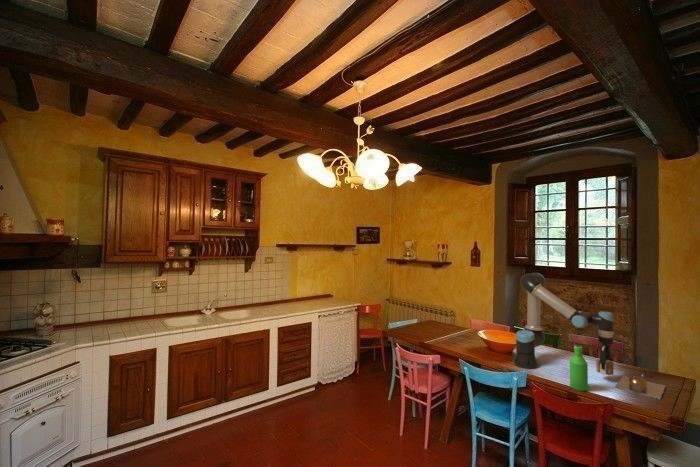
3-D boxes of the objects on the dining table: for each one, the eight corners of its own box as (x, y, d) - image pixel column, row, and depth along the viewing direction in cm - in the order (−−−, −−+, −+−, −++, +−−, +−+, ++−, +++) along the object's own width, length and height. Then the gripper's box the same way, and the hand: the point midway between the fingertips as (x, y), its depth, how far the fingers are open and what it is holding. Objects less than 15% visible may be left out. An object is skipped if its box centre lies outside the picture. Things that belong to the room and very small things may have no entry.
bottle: (580, 385, 202) (580, 344, 203) (591, 391, 194) (591, 348, 194) (566, 385, 202) (566, 344, 203) (576, 391, 193) (576, 348, 194)
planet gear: (611, 376, 204) (611, 365, 204) (594, 371, 211) (594, 360, 211) (614, 372, 210) (614, 361, 210) (598, 368, 216) (598, 357, 216)
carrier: (660, 400, 183) (659, 385, 184) (614, 387, 199) (614, 374, 199) (665, 387, 200) (665, 373, 200) (623, 376, 215) (623, 364, 215)
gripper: (609, 341, 200) (608, 378, 200) (616, 334, 214) (616, 369, 214) (594, 338, 206) (593, 374, 206) (602, 332, 220) (601, 365, 220)
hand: (604, 371), depth 210 cm, fingers closed on planet gear, 9 cm apart
